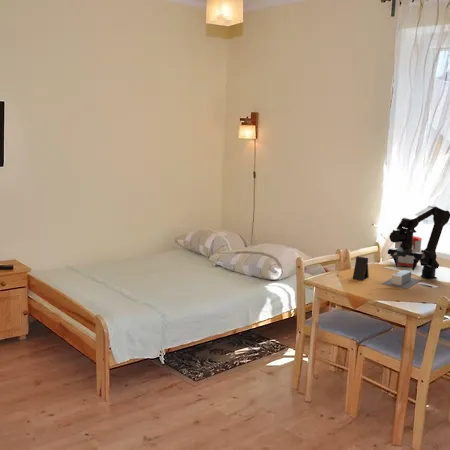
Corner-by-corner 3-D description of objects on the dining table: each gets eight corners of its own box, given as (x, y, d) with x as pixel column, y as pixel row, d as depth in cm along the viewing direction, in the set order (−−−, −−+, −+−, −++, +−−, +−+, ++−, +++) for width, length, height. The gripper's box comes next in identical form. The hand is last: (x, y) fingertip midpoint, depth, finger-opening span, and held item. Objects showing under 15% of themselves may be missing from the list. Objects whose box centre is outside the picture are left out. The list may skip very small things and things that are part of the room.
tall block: (403, 269, 305) (392, 274, 294) (411, 271, 302) (400, 276, 291) (402, 278, 306) (391, 283, 295) (410, 279, 302) (399, 285, 292)
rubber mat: (397, 275, 312) (397, 275, 311) (421, 280, 303) (421, 279, 303) (381, 284, 295) (381, 283, 295) (407, 289, 286) (407, 288, 286)
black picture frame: (362, 280, 301) (364, 259, 299) (352, 278, 304) (353, 258, 302) (368, 277, 308) (370, 256, 306) (358, 275, 312) (359, 254, 309)
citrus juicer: (394, 267, 329) (397, 235, 325) (391, 260, 346) (394, 229, 342) (422, 269, 326) (424, 236, 322) (417, 262, 343) (420, 231, 339)
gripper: (384, 240, 296) (382, 268, 299) (418, 245, 285) (416, 274, 288) (392, 237, 305) (390, 264, 308) (426, 242, 294) (423, 270, 296)
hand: (404, 268), depth 300 cm, fingers open, 9 cm apart
